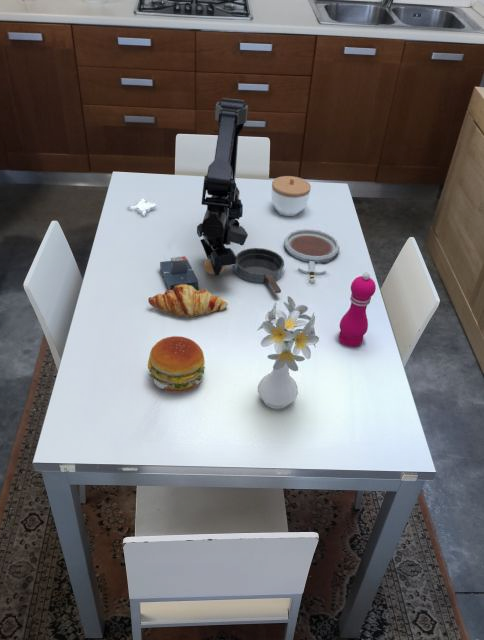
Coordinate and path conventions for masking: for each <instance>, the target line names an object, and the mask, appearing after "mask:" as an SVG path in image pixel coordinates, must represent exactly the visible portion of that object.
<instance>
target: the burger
mask: <svg viewBox="0 0 484 640" xmlns="http://www.w3.org/2000/svg"><path fill="white" fill-rule="evenodd" d="M205 363H206V361H205V356H204V352H203V349H202V348H201V346H200V345H199V344H198V343H197V342H195V341H194V340H192V339H191V338H188V337H185V336H177V335H173V336H168V337H165V338H162V339H160V340H159V341H157V342H155V344H154V345H153V346H152V347H151V349H150V352H149V356H148V361H147V369H148V372H149V373H150V377H151V378H152V380H153V382H154V384H155V385H156V386H157V388H158V389H163V390H165V391H169V392H176V393H177V392H178V393H179V392H185V391H189V390H191V389H193V388H194V387H196V386H197V385H199V384H200V382H202V380H203V376H204V375H205V369H206V367H205Z"/></svg>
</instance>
